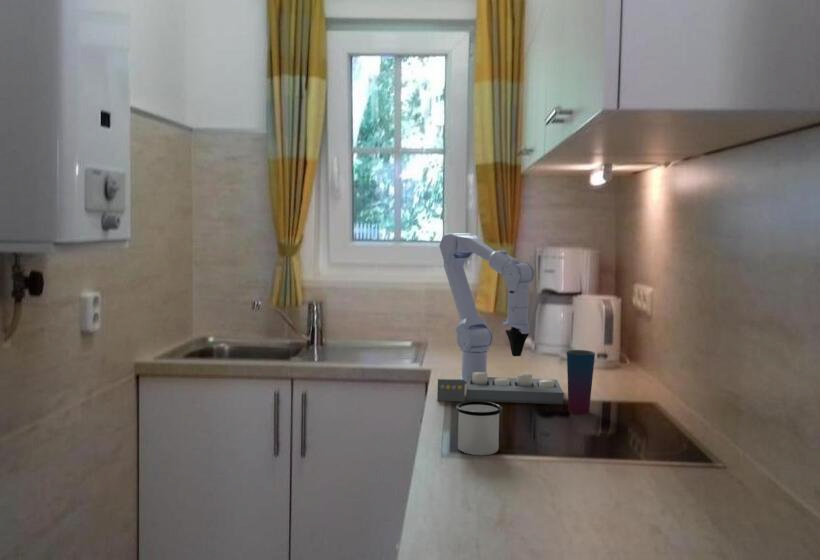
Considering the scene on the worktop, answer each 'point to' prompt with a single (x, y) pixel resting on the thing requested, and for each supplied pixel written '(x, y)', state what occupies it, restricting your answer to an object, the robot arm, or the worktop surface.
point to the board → (514, 392)
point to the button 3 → (524, 379)
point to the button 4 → (546, 383)
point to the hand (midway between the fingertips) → (516, 355)
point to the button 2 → (502, 381)
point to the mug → (478, 427)
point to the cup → (579, 380)
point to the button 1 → (479, 378)
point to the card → (451, 389)
